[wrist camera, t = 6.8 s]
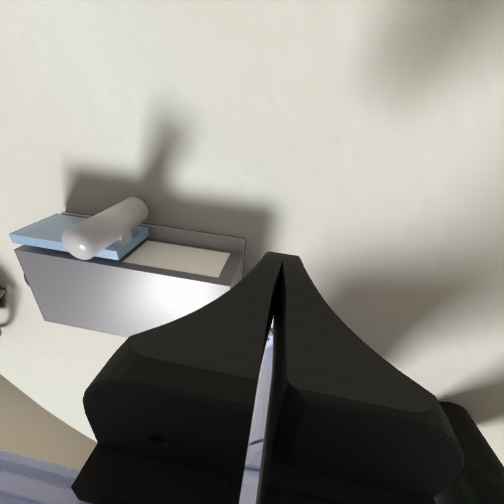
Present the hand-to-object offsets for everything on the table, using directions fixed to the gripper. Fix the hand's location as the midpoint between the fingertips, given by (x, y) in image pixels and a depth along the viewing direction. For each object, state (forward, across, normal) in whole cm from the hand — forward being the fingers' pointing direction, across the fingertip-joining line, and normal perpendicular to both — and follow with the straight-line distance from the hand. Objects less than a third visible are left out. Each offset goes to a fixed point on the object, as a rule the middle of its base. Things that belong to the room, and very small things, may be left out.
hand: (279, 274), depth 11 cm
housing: (+9, +11, +8) cm, 17 cm away
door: (+9, +15, +2) cm, 17 cm away
